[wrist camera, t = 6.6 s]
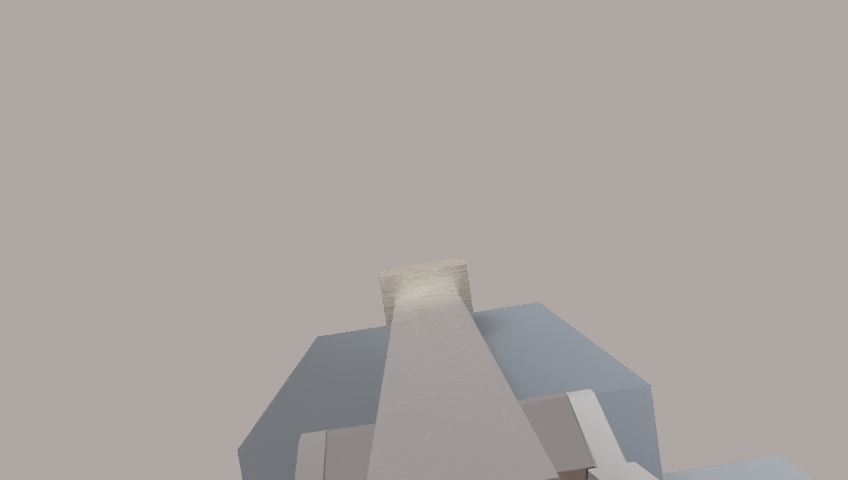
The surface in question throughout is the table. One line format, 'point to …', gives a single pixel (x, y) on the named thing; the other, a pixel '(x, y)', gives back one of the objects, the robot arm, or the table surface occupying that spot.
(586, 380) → the stepped stand
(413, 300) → the long bar
